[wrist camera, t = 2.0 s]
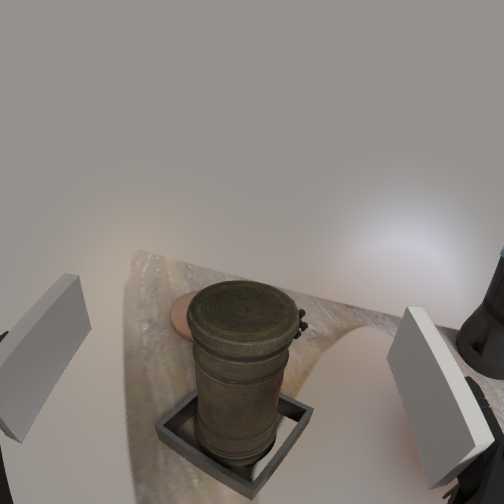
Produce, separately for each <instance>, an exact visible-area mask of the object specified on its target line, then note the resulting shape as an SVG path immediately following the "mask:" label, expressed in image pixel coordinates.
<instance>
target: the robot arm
mask: <svg viewBox="0 0 504 504" xmlns="http://www.w3.org/2000/svg"><path fill="white" fill-rule="evenodd" d="M500 255H501V257H500V260H499V263H498V265H497V268H496V271H495V273H494V276H493V278H492V281H491V283H490V286H489V288H488V290H487V293H486V295H485V297H484V300H483V302H482V304H481V305H480V306H479V307H478V308H477V309H476V310H475V311H474V313H473V314H472V315H471V316H470V317H469V318H468V319H467V320H466V321H465V322H464V324H463V325H462V327H461V329H460V331H459V333H458V335H457V340H456V341H457V347H458V350H459V352H460V354H461V355H462V357H463V358H464V359H465V361H466V362H467V363H468V364H469V365H470V366H471V367H473V368H474V369H475V370H477V371H478V372H480V373H481V374H483V375H485V376H488V377H490V378H494V379H499V380H504V248H503V249H502V250H501V253H500ZM90 330H91V325H90V321H89V317H88V313H87V310H86V305H85V301H84V297H83V292H82V288H81V283H80V278H79V276H78V275H72V274H64V275H63V276H62V277H61V278H59V279H58V281H57V282H55V284H54V285H53V286H52V287H51V288H50V289H49V290H48V291H47V292H46V293H45V294H44V295H43V296H42V297H41V298H40V299H39V300H38V301H37V302H36V303H35V304H34V305H33V306H32V307H31V308H30V310H29V311H28V312H27V313H26V314H25V315H24V316H23V317H22V318H21V320H19V322H18V323H17V324H16V325H15V326H14V327H13V328H12V330H11V331H10V332H8V331H6V332H5V333H3V334H2V335H0V428H1V430H2V431H3V432H4V434H5V435H6V436H8V437H10V438H11V439H14V440H16V441H17V442H19V443H22V442H23V440H24V438H25V436H26V434H27V433H28V431H29V429H30V427H31V425H32V424H33V422H34V420H35V418H36V416H37V415H38V413H39V411H40V409H41V408H42V406H43V404H44V403H45V401H46V399H47V397H48V396H49V394H50V392H51V391H52V389H53V388H54V386H55V384H56V383H57V381H58V379H59V377H60V376H61V375H62V373H63V371H64V370H65V368H66V366H67V365H68V363H69V362H70V360H71V359H72V357H73V356H74V354H75V352H76V351H77V349H78V348H79V346H80V345H81V343H82V342H83V340H84V339H85V337H86V336H87V334H88V333H89V331H90ZM386 358H387V360H388V363H389V366H390V368H391V371H392V374H393V377H394V379H395V382H396V385H397V387H398V391H399V394H400V396H401V399H402V402H403V405H404V408H405V411H406V414H407V417H408V420H409V424H410V427H411V430H412V433H413V436H414V439H415V443H416V446H417V450H418V453H419V456H420V460H421V463H422V467H423V471H424V474H425V478H426V482H427V485H428V489H429V490H430V489H434V488H438V487H441V486H445V485H448V484H449V483H450V482H451V481H452V480H453V479H455V478H456V477H457V479H458V482H459V483H458V484H457V485H456V486H454V487H453V488H452V489H451V490H450V491H448V492H447V493H446V494H445V495H444V496H443V499H445V498H447V497H448V496H449V495H451V497H450V499H449V500H448V503H447V504H504V434H503V432H502V430H501V428H500V426H499V424H498V422H497V420H496V418H495V415H494V413H493V411H492V409H491V407H490V408H489V404H488V402H487V400H486V399H485V396H484V394H483V392H482V390H481V388H480V386H479V385H478V384H477V383H476V382H475V381H474V380H473V379H472V378H471V377H470V376H468V377H464V376H463V374H462V372H461V370H460V369H459V367H458V365H457V363H456V361H455V360H454V358H453V356H452V354H451V353H450V351H449V349H448V347H447V346H446V344H445V342H444V340H443V339H442V337H441V335H440V334H439V332H438V330H437V329H436V327H435V325H434V324H433V322H432V320H431V319H430V317H429V316H428V314H427V313H426V311H425V309H424V308H423V307H417V306H416V307H415V306H407V308H406V310H405V313H404V316H403V318H402V321H401V324H400V326H399V329H398V331H397V334H396V336H395V338H394V341H393V344H392V346H391V348H390V350H389V353H388V355H387V357H386ZM0 504H13V500H12V497H11V493H10V489H9V485H8V481H7V477H6V473H5V468H4V463H3V458H2V453H1V447H0Z"/></svg>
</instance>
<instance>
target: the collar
mask: <svg viewBox="0 0 504 504" xmlns="http://www.w3.org/2000/svg"><path fill="white" fill-rule="evenodd" d="M197 403H198V392H197V390H195V391H194V392H193V393H192V394H191V395H190V396H189V397H187V398H186V399H185V400H184V401H183V402H182V403H180V404H179V405H178V406H177V407H176V408H175V409H173V410H172V411H171V412H170V413H169V414H168V415H166V416H165V417H164V418H163V419H162V420H160V421H159V422H158V423H157V424H156V425H155V429H156V432H157V435H158V438H159V440H161V441H162V442H163V443H164V444H166V445H167V446H168V447H170V448H171V449H172V450H174V451H175V452H176V453H178V454H179V455H181V456H182V457H183V458H185V459H186V460H188V461H189V462H191V463H192V464H193V465H195V466H196V467H198V468H199V469H201V470H202V471H204V472H205V473H207V474H208V475H210V476H212V477H213V478H215V479H216V480H218V481H219V482H221V483H223V484H224V485H226V486H228V487H229V488H231V489H233V490H234V491H236V492H238V493H240V494H241V495H243V496H245V497H247V498H248V499H250V500H253V498H254V497H255V496H256V495H257V493H258V492H259V491H260V490H261V488H262V487H263V486H264V485H265V483H266V482H267V481H268V479H269V478H270V476H271V475H272V474H273V473H274V472H275V470H276V469H277V467H278V466H279V465H280V463H281V462H282V461H283V459H284V458H285V457H286V455H287V454H288V452H289V451H290V450H291V448H292V447H293V445H294V444H295V442H296V441H297V440H298V438H299V437H300V435H301V434H302V432H303V431H304V429H305V428H306V426H307V424H308V423H309V421H310V418H311V415H312V413H313V410H314V408H311V407H309V406H307V405H305V404H302V403H301V402H298V401H296V400H294V399H292V398H290V397H288V396H286V395H284V394H281V393H280V394H279V400H278V404H277V409H278V413H280V414H282V415H284V416H286V417H288V418H290V419H292V420H294V421H296V422H298V424H297V425H296V427H295V428H294V429H293V431H292V432H291V434H290V435H289V437H288V438H287V439H286V441H285V442H284V443H283V445H282V446H281V447H280V449H279V450H278V451H277V453H276V454H275V455H274V457H273V458H272V459H271V461H270V462H269V463H268V465H267V466H266V467H265V468H264V470H263V471H262V472H261V474H260V475H259V476H258V477H257V478H256V480H255V481H254V482H253V483H250V482H248V481H247V480H245V479H243V478H241V477H240V476H238V475H236V474H234V473H233V472H231V471H229V470H228V469H226V468H224V467H223V466H221V465H219V464H218V463H216V462H215V461H213V460H212V459H210V458H208V457H207V456H205V455H204V454H202V453H201V452H199V451H198V450H196V449H195V448H193V447H192V446H190V445H189V444H188V443H186V442H185V441H183V440H182V439H180V438H179V437H178V436H176V435H175V434H174V432H175V431H176V430H177V429H178V428H179V427H180V426H181V425H183V424H184V423H185V422H186V421H187V420H188V419H189V418H190V417H191V416H193V415H194V414H195V413H196V412H197Z"/></svg>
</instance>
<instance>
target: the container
mask: <svg viewBox="0 0 504 504" xmlns="http://www.w3.org/2000/svg"><path fill="white" fill-rule="evenodd" d="M186 318H187V324H188V327H189V329H190V331H191V335H192V338H193V340H194V345H193V357H194V360H195V367H196V381H197V392H198V403H197V418H196V439H197V442H198V444H199V446H200V448H201V449H202V451H203V452H204V453H205V454H206V455H207V456H208V457H209V458H210V459H212V460H213V461H215V462H216V463H218V464H221V465H223V466H227V467H244V466H248V465H251V464H254V463H256V462H258V461H260V460H261V459H263V458H264V457H265V456H266V455H267V454H268V453H269V452H270V450H271V449H272V447H273V445H274V443H275V440H276V431H277V421H276V418H277V413H278V409H277V404H278V400H279V394H280V390H281V386H282V381H283V375H284V369H285V367H286V365H287V362H288V359H289V350H288V348H289V346H290V345H291V343H292V340H293V338H294V336H295V335H296V333H297V331H298V329H299V324H300V317H299V312H298V309H297V306H296V305H295V303H294V302H293V300H292V299H291V298H290V297H289V296H288V295H286V294H285V293H284V292H282V291H280V290H278V289H276V288H274V287H272V286H269V285H266V284H262V283H258V282H252V281H226V282H220V283H217V284H213V285H211V286H208V287H206V288H204V289H203V290H201V291H200V292H198V293H197V294H196V295H195V296H194V297H193V299H192V300H191V302H190V304H189V306H188V310H187V316H186Z"/></svg>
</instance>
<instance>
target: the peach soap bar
mask: <svg viewBox="0 0 504 504" xmlns="http://www.w3.org/2000/svg"><path fill="white" fill-rule="evenodd" d="M198 292H200V291H196V292H192V293H189V294H186V295H184V296H182V297H180V298H179V299H178V300H176V301H175V303H174V304H173V305H172V308H171V312H170V313H171V323H172V326H173V328H174V329H175V331H176V332H177V333H178V334H179V335H181V336H182V337H184V338H186V339H188V340H191V341H194V340H193V338H192V335H191V331H190V329H189V327H188V324H187V318H186V316H187V310H188V306H189V304H190V302H191V300H192V299H193V297H194V296H195V295H196V294H197V293H198Z"/></svg>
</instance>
